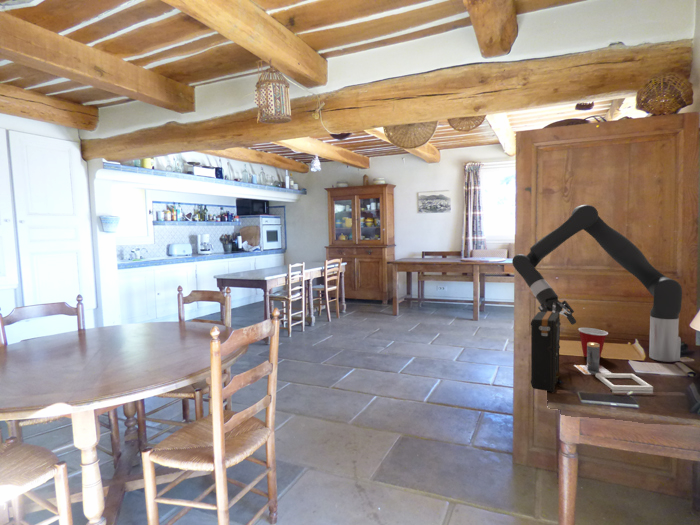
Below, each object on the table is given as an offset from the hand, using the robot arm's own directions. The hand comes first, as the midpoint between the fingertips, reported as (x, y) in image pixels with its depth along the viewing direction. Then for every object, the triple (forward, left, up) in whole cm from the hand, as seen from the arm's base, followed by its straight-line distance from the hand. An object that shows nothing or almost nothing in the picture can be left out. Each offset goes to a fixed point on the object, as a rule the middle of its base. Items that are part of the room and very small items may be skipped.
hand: (566, 324), depth 167 cm
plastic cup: (-13, -7, -16) cm, 22 cm away
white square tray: (-10, +24, -16) cm, 30 cm away
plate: (-6, +10, -16) cm, 20 cm away
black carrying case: (+15, +23, -16) cm, 32 cm away
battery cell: (-6, +10, -15) cm, 19 cm away
